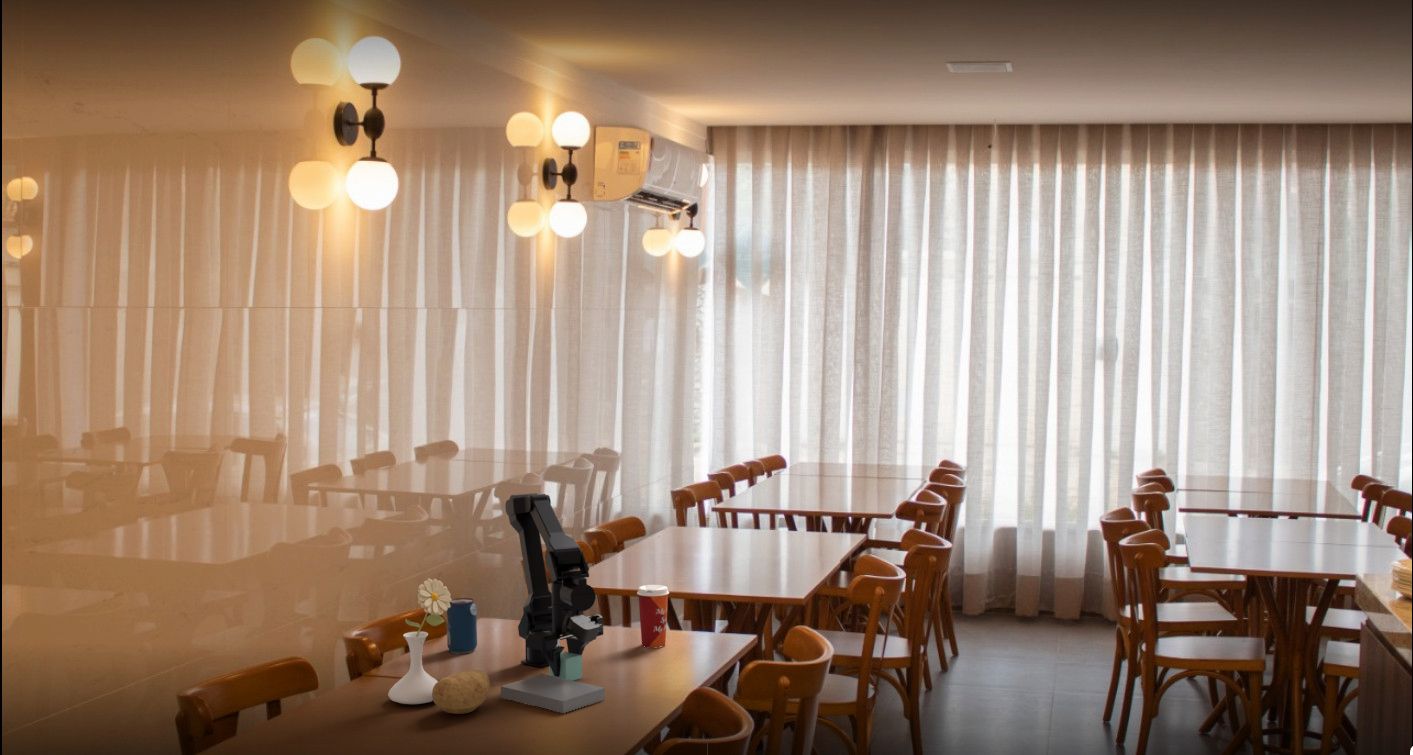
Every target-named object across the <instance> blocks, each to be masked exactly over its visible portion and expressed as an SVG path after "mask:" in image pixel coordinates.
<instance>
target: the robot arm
mask: <svg viewBox="0 0 1413 755" xmlns="http://www.w3.org/2000/svg"><path fill="white" fill-rule="evenodd" d="M551 504H552V503H551V498H550V495H549V494H546V493H541V494H539V493H523V494H522V493H521V494H511V495H510V496H509V499H507V500H506V501H505V504H504V506H505V513H506V514H507V516H508V520H509V525H511V527H512V528H513V529H514V530H515V531H516V532H517V533H518V537H519V543H520V550H521V551H520V552H521V555H522V564H523V569H524V575H525V582H526V587H527V597H526V600H525V603H524V605H523V609H522V610H523V614H522V617H521V619H520V621H519V624H518V626H517V631H518V636H519V637H520V638H522V639H523V640H525V641H524V642H525V643H524V644H525V659H522V660H520V664H524V665H528V666H532V667H537V668H542V667H546V666H549V665H550V667H551V669H552V672H553V674H554V676H556V677H559V674H560V654H561V653H563V652H564V651H563V650H564V649H565V646H563V645H562V646H561V641H562V640H566V646H567V652H569V653H574V654H579V655H583V653H584V650H585V648H586V646H588V645H589V644H590V643H591V642H593V641H594V640H597V637H599V636H604V618H603V616H602V615H601V614H594V615H592V616H589V615H588V616H586V615H584V612H585V611H588V610H590V609H591V608H592V607H593V606H594V604H595V602H596V597H597V596H596V592H595V590H594V588H593V587H592V586H591V585H589V584H588V581H587V580H588V579H587V578H589V577H590V573H589V571H590V567H589V565H588V562H587V559H586V556H585V555H584V552H583V549H581V547H580V545H579V544H578V543H577V541H576V540H575V539H574V538H573V537H571V536H569V535H567V534H566V532H565V531H564V529H563V527H562V525H561V523H560V520H559V519H558V517H557V514H556V512H555V510H554V508H553V506H552V505H551ZM541 538H542V539H541ZM542 541H543V543H544V546H545V547H546V549H545V553H544V552H543V551H544V550H543V546H542ZM546 568H547V569H548V572H549V576H548V575H547V570H546ZM548 577H549V579H550V581H551V584H550V586H551V588H549V584H548ZM550 590H551V591H550Z"/></svg>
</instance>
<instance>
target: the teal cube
mask: <svg viewBox="0 0 1413 755" xmlns="http://www.w3.org/2000/svg"><path fill="white" fill-rule="evenodd" d="M582 655H583V654H582ZM582 655H579V654H574V653H569V652H568V651H562V652H561V654H560V674H559V678H563V679H568V680H572V681H576V680H579V679H582V678H583V656H582ZM548 667H549V668H548V672H549V674H548V675H550V676H554V674H553V672H552V669H551V667H550V665H548ZM554 677H556V676H554Z"/></svg>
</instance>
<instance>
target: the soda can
mask: <svg viewBox="0 0 1413 755" xmlns="http://www.w3.org/2000/svg"><path fill="white" fill-rule="evenodd" d="M451 599H452V598H451ZM449 603H450V608H448V609H447V611H446V639H447V640H446V641H447V644H446V645H447V648H448V650H449V652H450V653H452V654H458V655H459V654H462V655H463V654H469V653H473V652H474V651H475V650H476V648H477V646H478V620H477V618H478V616H477V615H478V614H477V612H478V610H477V608H478V607H477V605H476V604H475V600H474V598H470V597H457V598H453V599H452V601H451V602H449Z"/></svg>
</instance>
